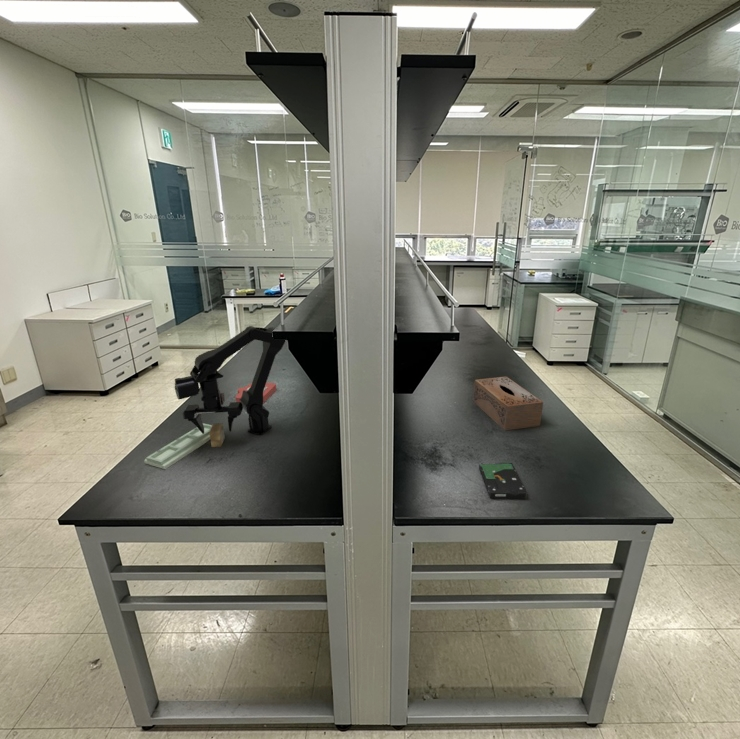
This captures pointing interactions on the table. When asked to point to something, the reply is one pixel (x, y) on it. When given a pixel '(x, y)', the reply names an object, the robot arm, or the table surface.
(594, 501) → the table surface
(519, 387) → the tissue box cover
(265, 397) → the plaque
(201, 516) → the table surface
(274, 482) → the table surface
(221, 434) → the tan rectangular box
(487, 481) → the disk drive
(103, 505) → the table surface
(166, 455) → the rail board
